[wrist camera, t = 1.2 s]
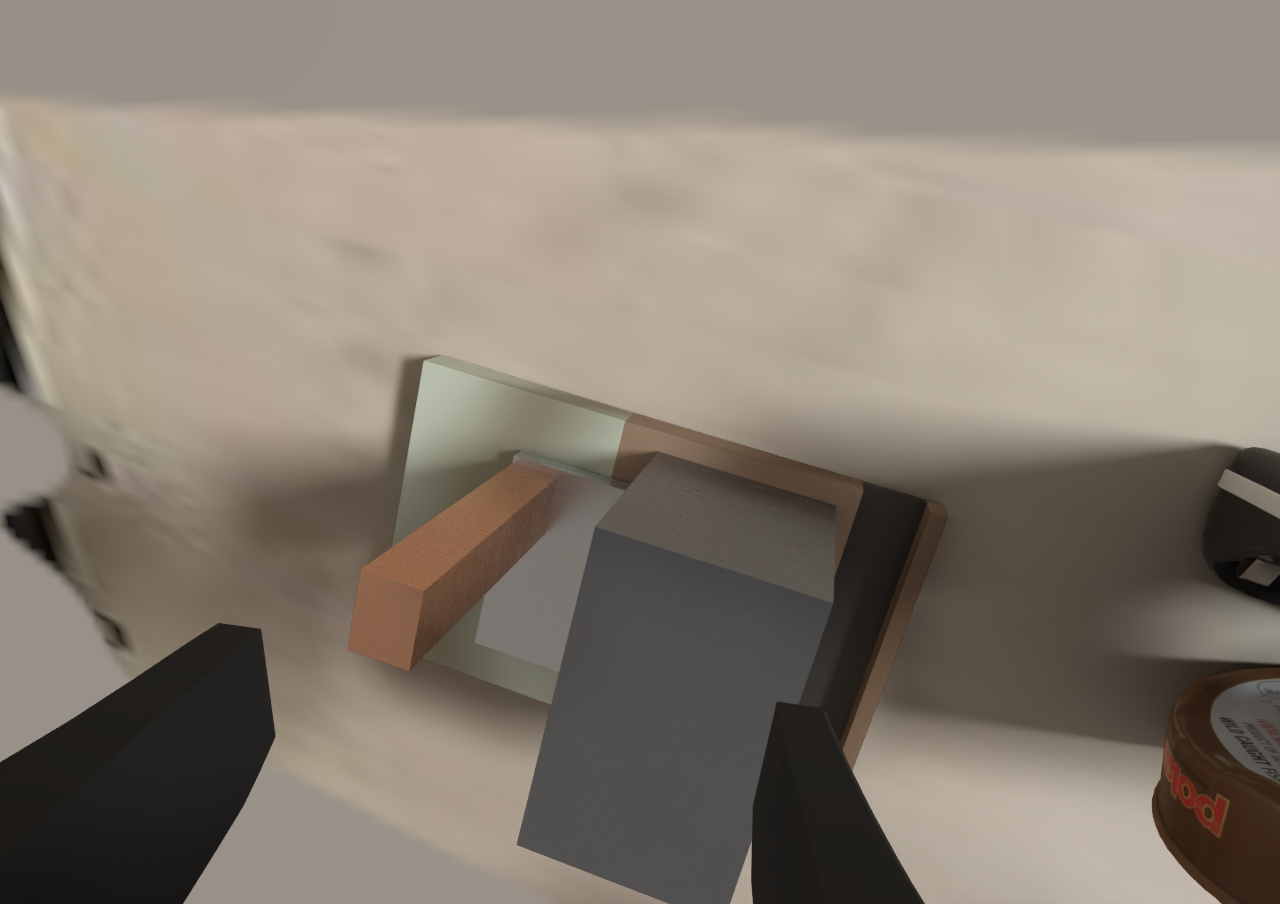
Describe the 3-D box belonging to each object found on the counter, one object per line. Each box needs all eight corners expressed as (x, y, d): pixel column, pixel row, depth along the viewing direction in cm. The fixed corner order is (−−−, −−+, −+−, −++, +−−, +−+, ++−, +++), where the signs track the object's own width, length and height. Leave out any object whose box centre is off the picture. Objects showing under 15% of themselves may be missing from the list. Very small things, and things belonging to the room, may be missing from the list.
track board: (942, 505, 21) (947, 517, 20) (838, 784, 24) (838, 807, 23) (440, 355, 23) (423, 360, 22) (392, 627, 26) (375, 641, 25)
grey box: (836, 505, 21) (833, 602, 15) (752, 759, 23) (722, 924, 18) (658, 451, 22) (595, 526, 16) (592, 702, 24) (516, 845, 18)
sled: (815, 541, 21) (800, 708, 14) (754, 727, 23) (711, 966, 15) (522, 450, 22) (362, 558, 15) (483, 632, 24) (321, 812, 16)
